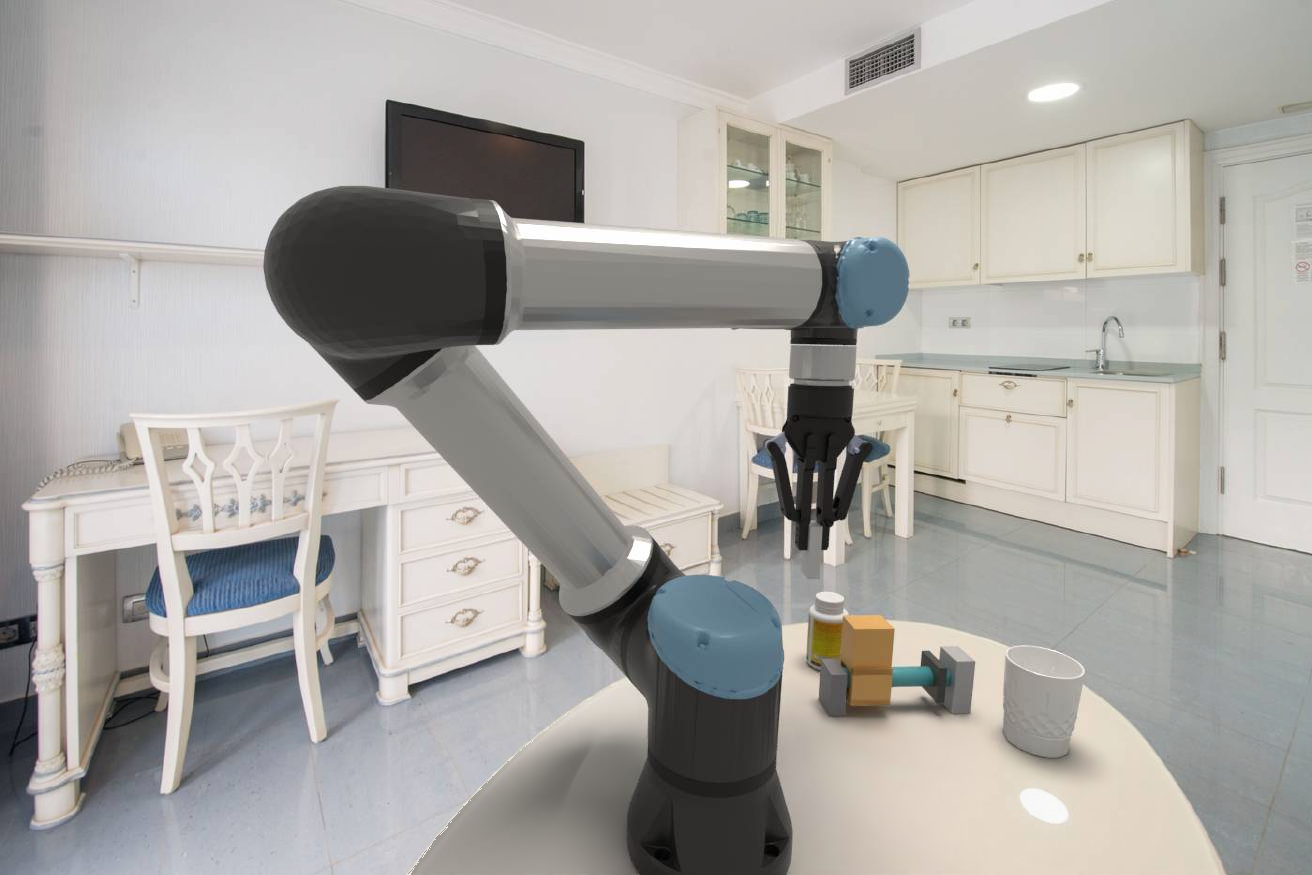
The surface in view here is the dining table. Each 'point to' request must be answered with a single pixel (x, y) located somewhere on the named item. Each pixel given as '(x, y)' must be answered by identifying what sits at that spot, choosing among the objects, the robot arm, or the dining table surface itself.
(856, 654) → the sleeve
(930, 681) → the teal axle dumbbell
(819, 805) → the dining table surface
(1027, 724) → the white cup
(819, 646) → the supplement bottle
